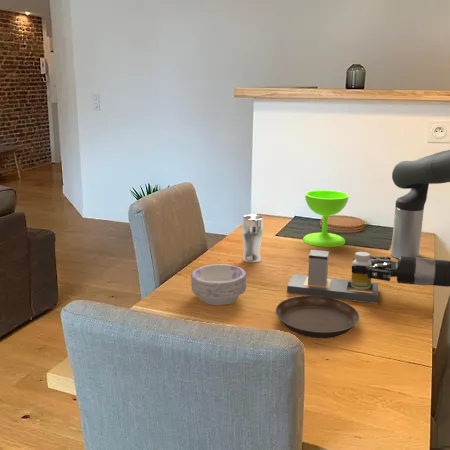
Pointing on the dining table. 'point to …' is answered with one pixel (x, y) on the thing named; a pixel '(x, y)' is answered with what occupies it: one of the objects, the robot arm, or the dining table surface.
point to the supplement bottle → (361, 279)
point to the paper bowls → (218, 283)
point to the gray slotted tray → (328, 282)
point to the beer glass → (252, 237)
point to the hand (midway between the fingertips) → (352, 265)
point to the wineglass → (325, 215)
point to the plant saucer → (317, 316)
